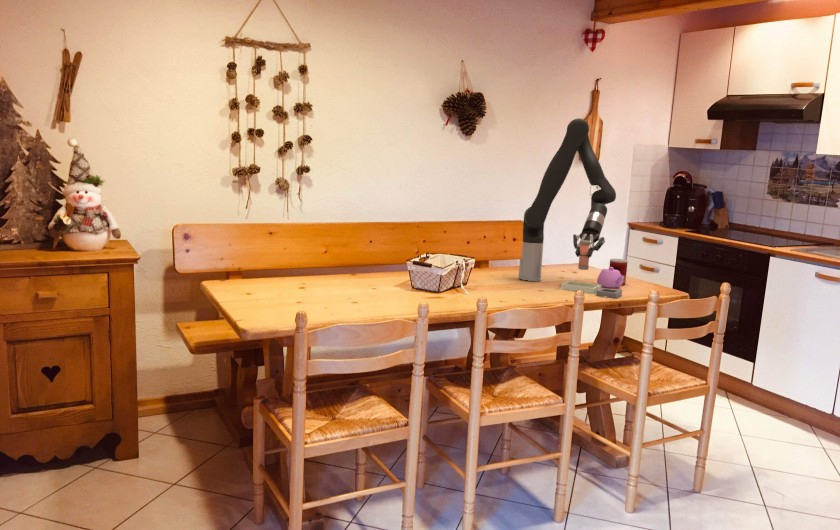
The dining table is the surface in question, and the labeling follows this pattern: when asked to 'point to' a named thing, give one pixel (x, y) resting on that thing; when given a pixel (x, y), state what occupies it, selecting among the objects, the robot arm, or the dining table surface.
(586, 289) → the parts tray
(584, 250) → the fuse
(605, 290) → the socket block
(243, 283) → the dining table surface
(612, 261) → the canned food
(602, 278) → the teapot
